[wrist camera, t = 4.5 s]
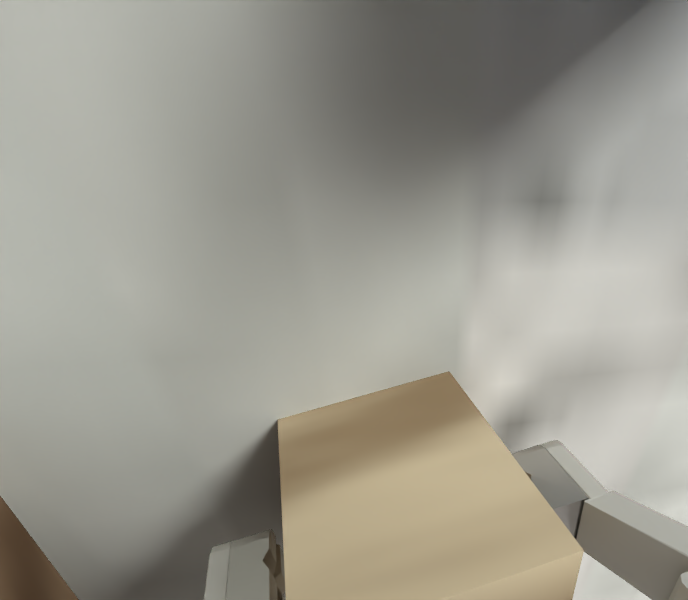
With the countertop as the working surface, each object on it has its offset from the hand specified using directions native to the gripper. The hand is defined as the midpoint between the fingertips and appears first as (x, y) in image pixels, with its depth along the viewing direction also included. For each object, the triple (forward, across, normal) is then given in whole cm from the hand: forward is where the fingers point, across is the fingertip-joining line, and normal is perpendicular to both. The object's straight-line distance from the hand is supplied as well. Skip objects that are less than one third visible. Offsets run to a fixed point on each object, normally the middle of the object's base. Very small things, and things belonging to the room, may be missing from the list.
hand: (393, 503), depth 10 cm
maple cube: (+2, 0, 0) cm, 2 cm away
